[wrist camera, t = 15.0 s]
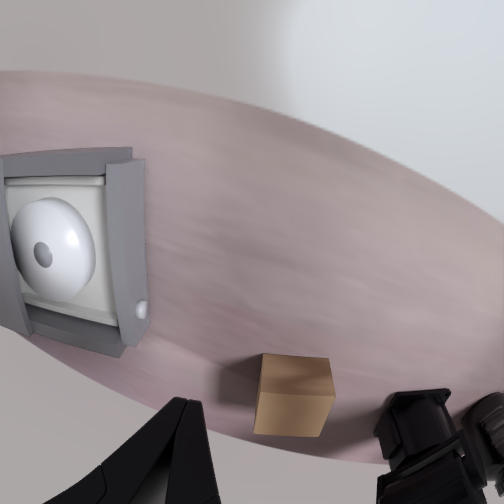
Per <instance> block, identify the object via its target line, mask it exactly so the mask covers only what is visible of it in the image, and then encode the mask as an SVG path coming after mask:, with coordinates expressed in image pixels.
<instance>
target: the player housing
mask: <svg viewBox="0 0 504 504" xmlns="http://www.w3.org/2000/svg"><path fill="white" fill-rule="evenodd" d="M126 159H132V147H104V148H79V149H62V150H49V151H37V152H27V153H18V154H9V155H1V156H0V325H1V326H3V327H6V328H8V329H10V330H13V331H15V332H18V333H20V334H23V335H26V336H28V337H30V336H31V335H32V333H36V334H39V335H42V336H44V337H47V338H50V339H53V340H56V341H60V342H63V343H66V344H69V345H72V346H76V347H79V348H83V349H86V350H90V351H93V352H97V353H100V354H104V355H108V356H112V357H116V358H119V357H120V356H121V354H122V353H123V351H124V349H125V348H126V346H127V345H123V344H122V340H121V334H120V328H119V326H118V327H117V326H112V325H108V324H103V323H99V322H95V321H91V320H87V319H82V318H78V317H75V316H71V315H67V314H63V313H59V312H56V311H52V310H48V309H45V308H41V307H38V306H35V305H31V304H28V303H25V302H24V300H23V296H22V292H21V288H20V284H19V280H18V275H17V271H16V266H15V261H14V256H13V251H12V245H11V239H10V233H9V226H8V218H7V210H6V200H5V188H4V177H19V176H54V175H101V174H105V173H106V164H109V163H113V162H117V161H122V160H126Z"/></svg>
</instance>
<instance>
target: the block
mask: <svg viewBox="0 0 504 504" xmlns="http://www.w3.org/2000/svg"><path fill="white" fill-rule="evenodd" d="M335 397H336V395H335V389H334V384H333V378H332V373H331V368H330V362H329V358H311V357H297V356H285V355H274V354H264V353H263V358H262V365H261V372H260V378H259V385H258V391H257V399H256V410H255V421H254V432H253V434H264V435H278V436H296V437H319V435H320V433H321V430H322V428H323V426H324V423H325V421H326V419H327V416H328V414H329V412H330V409H331V407H332V404H333V402H334V400H335Z"/></svg>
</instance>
